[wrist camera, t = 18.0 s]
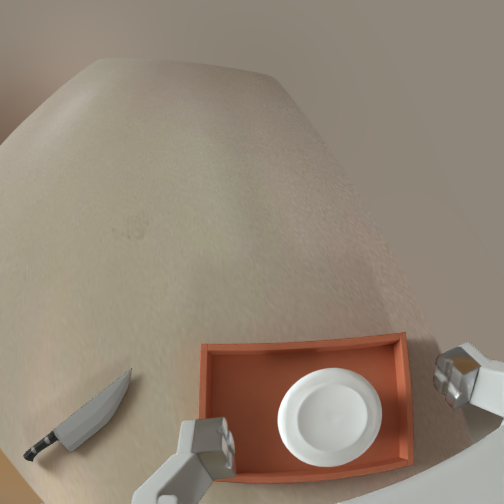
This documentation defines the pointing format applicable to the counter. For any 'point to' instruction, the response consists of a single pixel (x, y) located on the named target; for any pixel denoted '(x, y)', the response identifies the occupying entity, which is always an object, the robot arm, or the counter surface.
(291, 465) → the tray
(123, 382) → the chef's knife
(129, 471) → the counter surface
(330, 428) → the sprinkles bottle
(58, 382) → the counter surface
